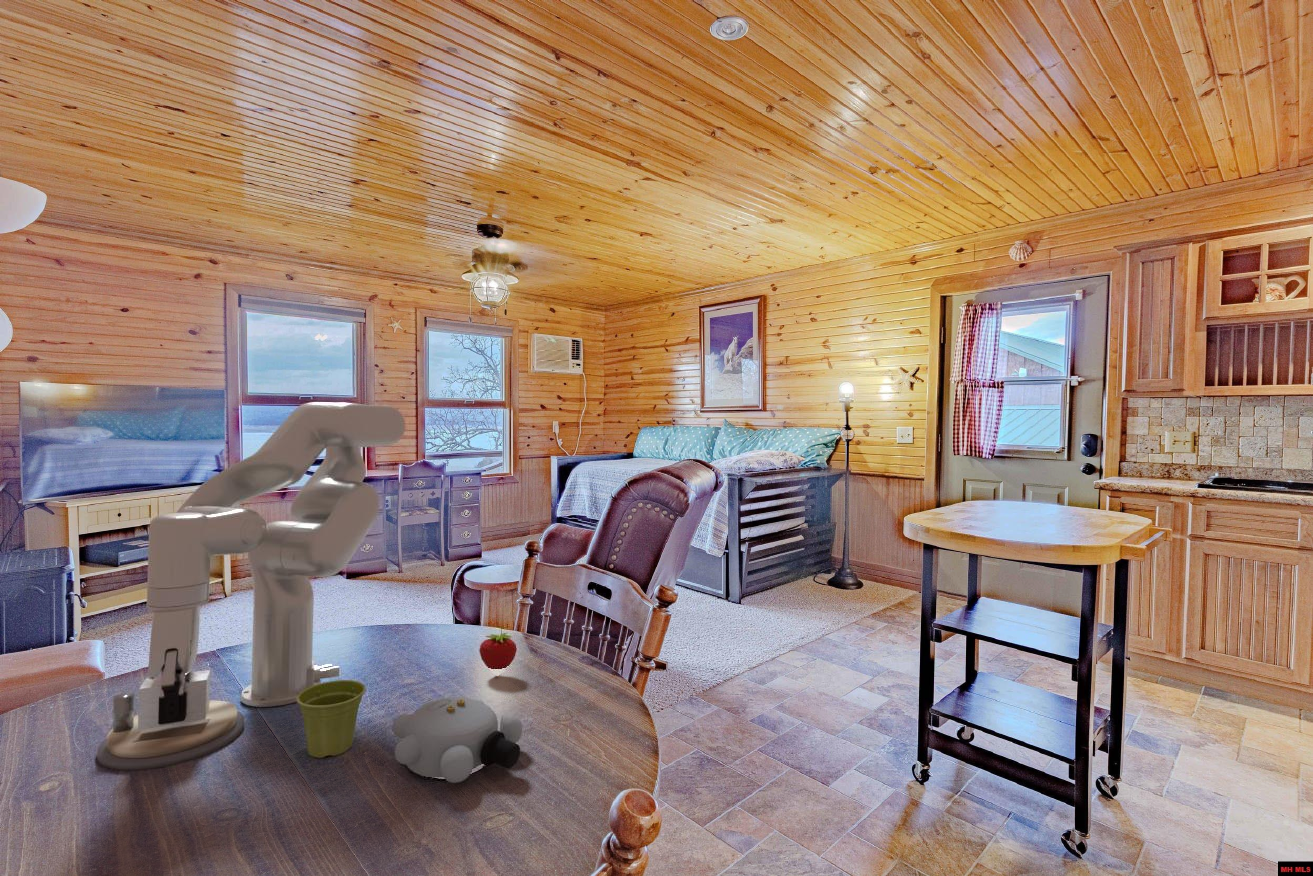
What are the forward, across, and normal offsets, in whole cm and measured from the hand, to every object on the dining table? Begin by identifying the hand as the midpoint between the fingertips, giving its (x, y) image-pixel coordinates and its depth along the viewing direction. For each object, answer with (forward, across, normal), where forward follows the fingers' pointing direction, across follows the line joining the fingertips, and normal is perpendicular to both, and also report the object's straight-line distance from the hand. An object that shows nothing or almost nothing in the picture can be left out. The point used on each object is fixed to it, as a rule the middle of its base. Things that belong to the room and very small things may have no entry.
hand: (175, 713), depth 94 cm
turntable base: (+5, -4, 0) cm, 7 cm away
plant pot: (+5, +11, +21) cm, 24 cm away
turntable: (+4, -3, 0) cm, 5 cm away
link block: (+1, 0, 0) cm, 1 cm away
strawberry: (+5, -6, +51) cm, 51 cm away
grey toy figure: (+5, +23, +37) cm, 44 cm away
